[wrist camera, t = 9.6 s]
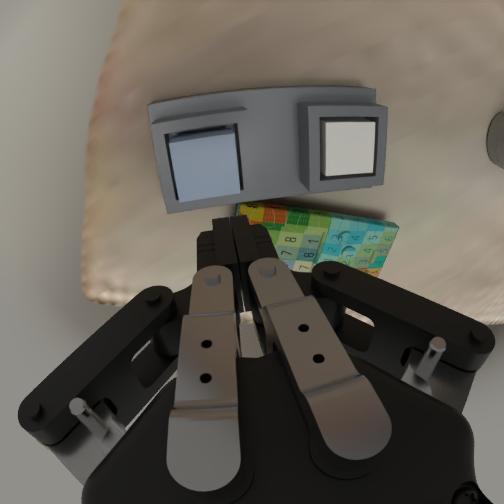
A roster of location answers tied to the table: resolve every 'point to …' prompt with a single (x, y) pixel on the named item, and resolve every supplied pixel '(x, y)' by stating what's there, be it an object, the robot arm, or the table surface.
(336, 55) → the table surface
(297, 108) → the grey plastic block
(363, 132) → the white key
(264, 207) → the puzzle game
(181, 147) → the blue key
